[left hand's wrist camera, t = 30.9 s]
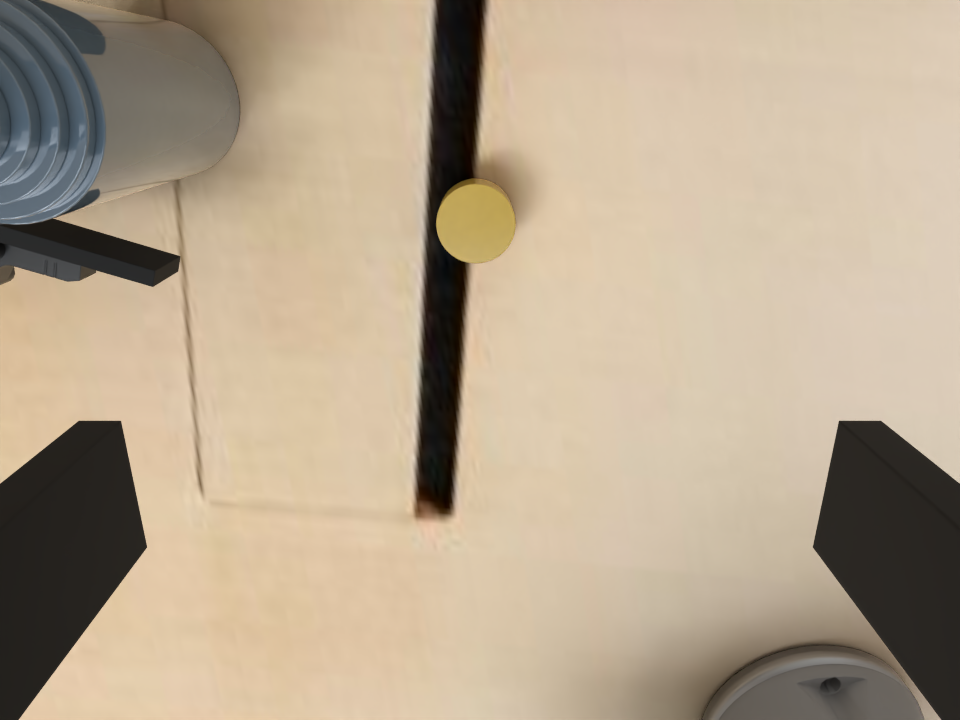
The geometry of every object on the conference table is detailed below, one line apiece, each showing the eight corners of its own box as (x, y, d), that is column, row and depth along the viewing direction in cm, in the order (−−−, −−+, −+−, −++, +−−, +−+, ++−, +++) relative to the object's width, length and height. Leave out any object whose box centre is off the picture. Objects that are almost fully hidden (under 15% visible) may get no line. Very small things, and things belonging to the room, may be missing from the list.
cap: (513, 177, 36) (515, 183, 34) (513, 252, 37) (515, 262, 35) (437, 179, 36) (434, 184, 34) (440, 254, 37) (438, 264, 35)
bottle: (261, 156, 35) (55, 222, 18) (128, 191, 36) (-193, 289, 19) (206, 0, 33) (-98, -98, 15) (64, 41, 33) (-382, -8, 16)
